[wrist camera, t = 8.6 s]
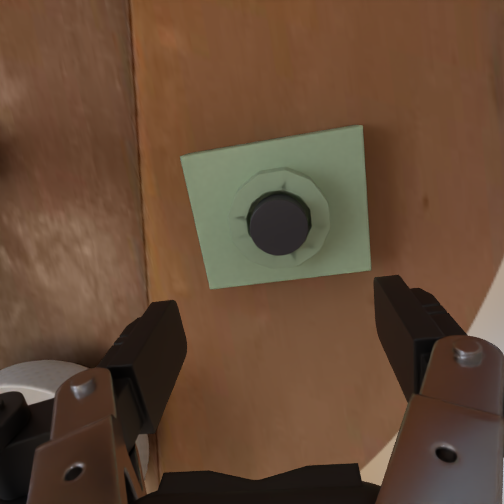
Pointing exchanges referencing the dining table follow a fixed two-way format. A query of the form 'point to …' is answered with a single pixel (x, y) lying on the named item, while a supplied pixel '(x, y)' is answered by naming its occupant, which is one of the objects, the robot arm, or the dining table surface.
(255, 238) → the button
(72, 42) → the dining table surface
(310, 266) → the block
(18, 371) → the cereal bowl
